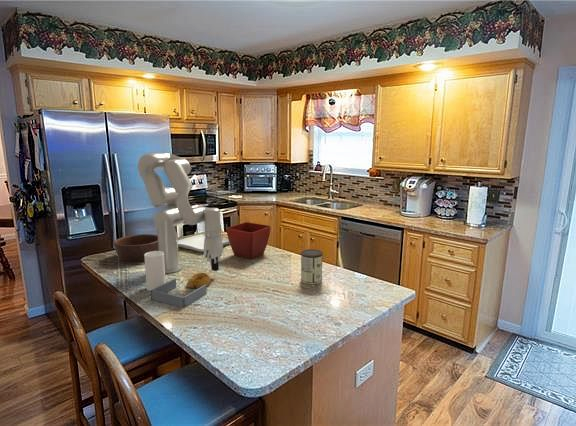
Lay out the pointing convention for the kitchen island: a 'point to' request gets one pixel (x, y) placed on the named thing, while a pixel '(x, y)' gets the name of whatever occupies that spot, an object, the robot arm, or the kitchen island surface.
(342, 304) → the kitchen island surface
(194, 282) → the bagel
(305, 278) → the coffee can
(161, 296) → the box
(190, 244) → the square plate
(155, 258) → the cup
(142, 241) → the wooden bowl
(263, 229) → the plant pot
